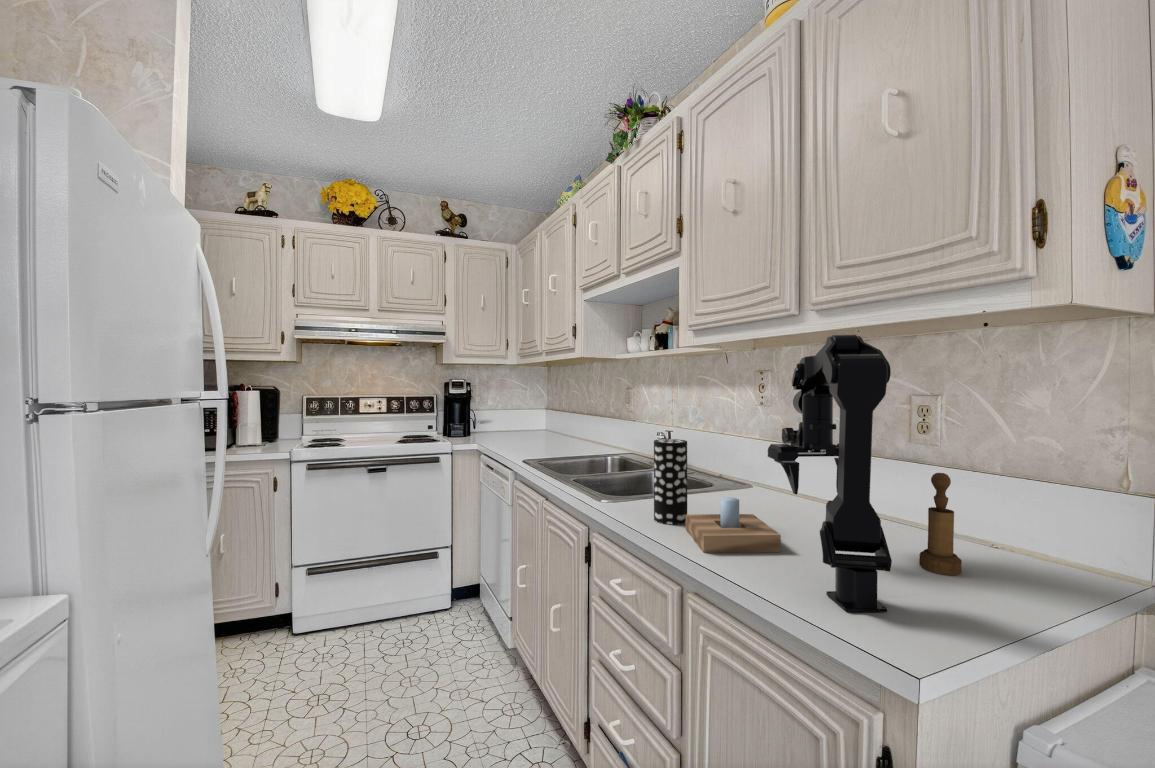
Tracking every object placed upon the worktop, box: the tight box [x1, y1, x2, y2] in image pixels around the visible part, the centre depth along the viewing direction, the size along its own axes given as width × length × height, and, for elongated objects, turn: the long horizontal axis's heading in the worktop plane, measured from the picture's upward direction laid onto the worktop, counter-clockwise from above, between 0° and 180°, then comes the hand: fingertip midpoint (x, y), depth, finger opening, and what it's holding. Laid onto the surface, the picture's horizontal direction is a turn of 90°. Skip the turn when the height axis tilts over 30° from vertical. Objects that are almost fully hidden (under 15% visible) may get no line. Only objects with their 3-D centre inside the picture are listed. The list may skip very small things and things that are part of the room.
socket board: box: [685, 513, 782, 554], centre depth 113 cm, size 16×16×4 cm
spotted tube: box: [653, 438, 688, 526], centre depth 129 cm, size 8×8×20 cm
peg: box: [720, 497, 740, 528], centre depth 113 cm, size 4×4×9 cm
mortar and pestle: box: [918, 472, 963, 576], centre depth 96 cm, size 7×6×18 cm
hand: (817, 493), depth 105 cm, fingers open, 9 cm apart
